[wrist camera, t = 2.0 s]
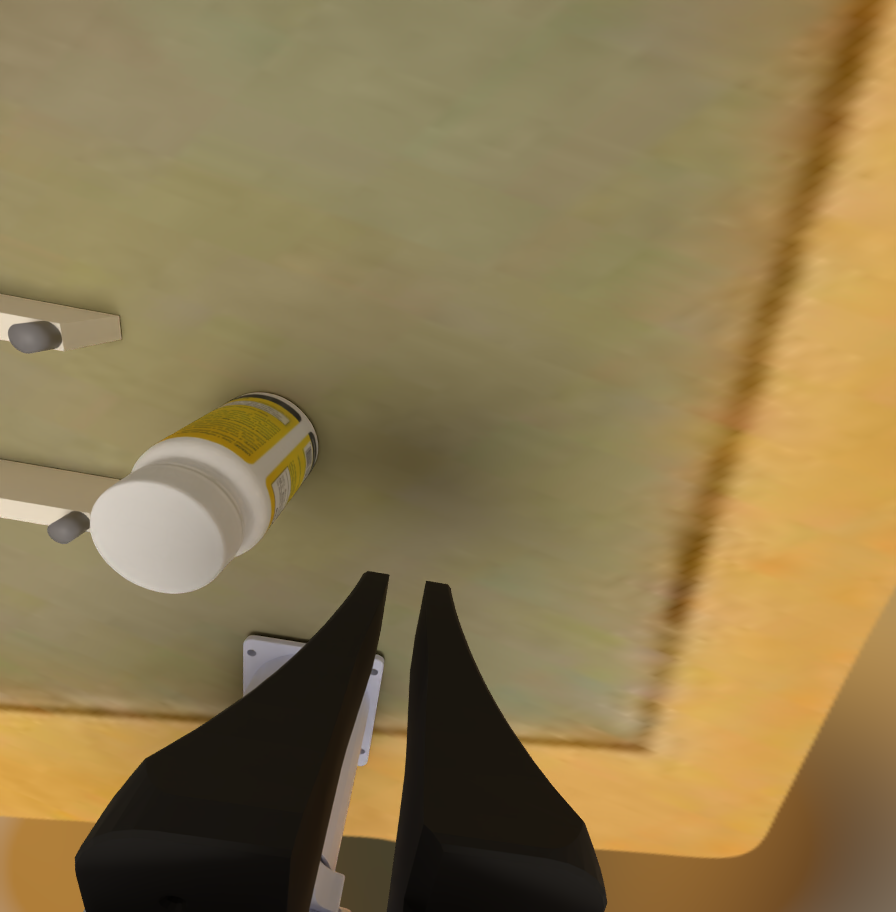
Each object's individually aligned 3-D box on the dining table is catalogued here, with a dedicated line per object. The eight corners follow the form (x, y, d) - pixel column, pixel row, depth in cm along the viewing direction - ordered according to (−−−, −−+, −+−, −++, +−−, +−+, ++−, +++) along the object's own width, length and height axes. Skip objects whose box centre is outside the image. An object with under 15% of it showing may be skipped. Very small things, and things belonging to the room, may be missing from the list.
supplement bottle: (198, 414, 20) (38, 501, 13) (285, 373, 20) (169, 441, 12) (256, 499, 22) (144, 622, 14) (338, 465, 21) (267, 576, 13)
